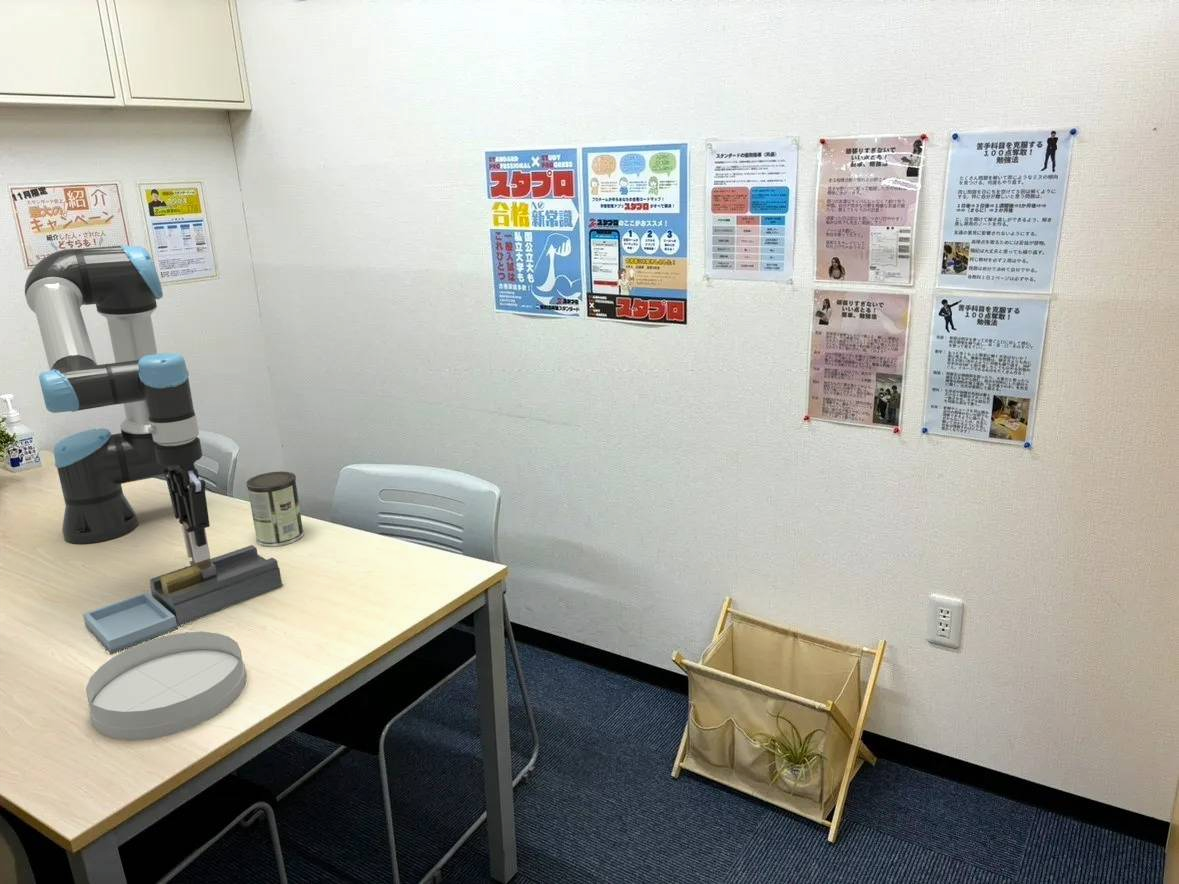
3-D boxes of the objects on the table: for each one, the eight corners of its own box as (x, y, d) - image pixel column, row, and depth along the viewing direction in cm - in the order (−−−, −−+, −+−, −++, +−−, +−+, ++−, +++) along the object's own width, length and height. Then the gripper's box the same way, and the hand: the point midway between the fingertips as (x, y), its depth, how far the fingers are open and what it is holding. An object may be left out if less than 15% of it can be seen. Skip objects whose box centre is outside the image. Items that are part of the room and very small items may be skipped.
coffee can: (274, 526, 191) (265, 469, 187) (313, 530, 189) (304, 472, 184) (245, 544, 182) (235, 485, 177) (285, 549, 179) (276, 489, 175)
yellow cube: (179, 586, 155) (176, 571, 154) (195, 580, 157) (193, 566, 156) (186, 591, 153) (183, 576, 152) (202, 585, 155) (199, 571, 154)
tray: (85, 625, 149) (82, 613, 149) (149, 603, 157) (146, 591, 156) (111, 654, 140) (108, 641, 139) (177, 628, 148) (175, 616, 147)
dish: (63, 709, 126) (56, 681, 125) (197, 643, 143) (192, 618, 142) (140, 761, 114) (133, 731, 113) (275, 682, 132) (271, 655, 130)
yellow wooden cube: (163, 591, 153) (160, 577, 152) (179, 585, 155) (176, 571, 154) (169, 596, 151) (166, 582, 150) (185, 590, 153) (183, 576, 152)
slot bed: (154, 604, 157) (148, 578, 155) (254, 568, 170) (251, 544, 169) (178, 625, 149) (172, 598, 147) (282, 586, 162) (278, 561, 161)
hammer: (192, 575, 158) (179, 519, 154) (205, 570, 159) (192, 514, 155) (204, 584, 154) (191, 526, 150) (218, 579, 156) (204, 522, 152)
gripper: (138, 436, 150) (162, 552, 158) (172, 453, 140) (195, 576, 148) (180, 427, 156) (202, 540, 163) (215, 443, 145) (236, 562, 153)
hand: (199, 557), depth 155 cm, fingers closed on hammer, 2 cm apart
